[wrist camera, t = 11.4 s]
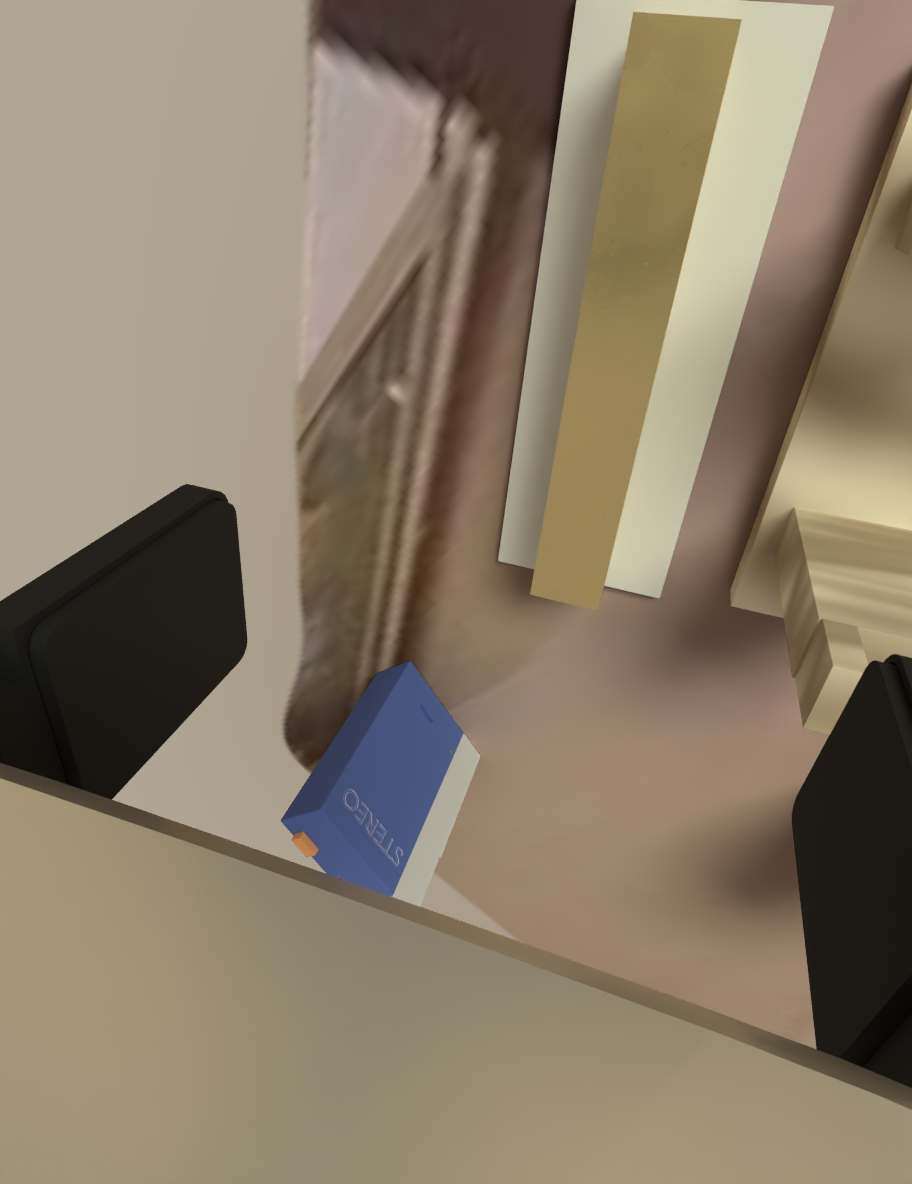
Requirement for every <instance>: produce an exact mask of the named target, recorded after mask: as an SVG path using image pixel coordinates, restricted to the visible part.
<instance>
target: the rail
mask: <svg viewBox="0 0 912 1184" xmlns="http://www.w3.org/2000/svg"><path fill="white" fill-rule="evenodd" d="M741 21H742V19H730V18H716V17H702V16H687V15H673V14H659V13H645V12H633V16H632V21H631V27H630V33H629V38H628V44H627V49H626V55H625V61H624V66H623V72H622V78H621V83H620V89H619V95H618V100H617V106H616V112H615V117H614V123H613V129H612V134H611V140H610V145H609V151H608V157H607V162H606V168H605V174H604V179H603V185H602V191H601V196H600V202H599V208H598V213H597V219H596V225H595V230H594V236H593V241H592V247H591V253H590V258H589V264H588V270H587V275H586V281H585V287H584V292H583V298H582V304H581V309H580V315H579V321H578V326H577V332H576V337H575V343H574V349H573V354H572V360H571V366H570V371H569V377H568V383H567V388H566V394H565V400H564V405H563V411H562V417H561V422H560V428H559V433H558V439H557V445H556V450H555V456H554V462H553V467H552V473H551V479H550V484H549V490H548V496H547V501H546V507H545V513H544V518H543V524H542V529H541V535H540V541H539V546H538V552H537V558H536V563H535V569H534V575H533V580H532V586H531V592H530V595H534V596H538V597H542V598H546V599H550V600H554V601H558V602H562V603H566V604H571V605H575V606H579V607H583V608H587V609H591V610H595V611H598V608H599V604H600V600H601V596H602V593H603V589H604V585H605V581H606V577H607V573H608V569H609V565H610V561H611V557H612V553H613V549H614V545H615V541H616V537H617V533H618V529H619V524H620V520H621V516H622V512H623V508H624V504H625V500H626V496H627V492H628V488H629V484H630V479H631V475H632V471H633V467H634V463H635V459H636V455H637V451H638V447H639V443H640V438H641V434H642V430H643V426H644V422H645V418H646V414H647V410H648V406H649V402H650V398H651V393H652V389H653V385H654V381H655V377H656V373H657V369H658V365H659V361H660V357H661V352H662V348H663V344H664V340H665V336H666V332H667V328H668V324H669V320H670V316H671V312H672V307H673V303H674V299H675V295H676V291H677V287H678V283H679V279H680V275H681V271H682V266H683V262H684V258H685V254H686V250H687V246H688V242H689V238H690V234H691V230H692V226H693V221H694V217H695V213H696V209H697V205H698V201H699V197H700V193H701V189H702V185H703V180H704V176H705V172H706V168H707V164H708V160H709V156H710V152H711V148H712V144H713V140H714V135H715V131H716V127H717V123H718V119H719V115H720V111H721V107H722V103H723V99H724V94H725V90H726V86H727V82H728V78H729V74H730V70H731V66H732V62H733V58H734V54H735V49H736V45H737V41H738V37H739V32H740V26H741Z"/></svg>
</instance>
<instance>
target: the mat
mask: <svg viewBox="0 0 912 1184" xmlns="http://www.w3.org/2000/svg"><path fill="white" fill-rule="evenodd" d="M833 9H834V6H822V5H806V4H790V3H773V2H757V1H741V0H576V8H575V15H574V22H573V29H572V36H571V43H570V50H569V58H568V65H567V72H566V79H565V86H564V93H563V100H562V108H561V115H560V122H559V129H558V136H557V143H556V150H555V158H554V165H553V172H552V179H551V186H550V193H549V200H548V208H547V215H546V222H545V229H544V236H543V243H542V250H541V258H540V265H539V272H538V279H537V286H536V293H535V300H534V308H533V315H532V322H531V329H530V336H529V343H528V350H527V358H526V365H525V372H524V379H523V386H522V393H521V400H520V408H519V415H518V422H517V429H516V436H515V443H514V450H513V458H512V465H511V472H510V479H509V486H508V493H507V500H506V508H505V515H504V522H503V529H502V536H501V543H500V550H499V558H498V561H500V562H505V563H509V564H513V565H518V566H522V567H526V568H530V569H535V563H536V558H537V552H538V546H539V541H540V535H541V529H542V524H543V518H544V513H545V507H546V501H547V496H548V490H549V484H550V479H551V473H552V467H553V462H554V456H555V450H556V445H557V439H558V433H559V428H560V422H561V417H562V411H563V405H564V400H565V394H566V388H567V383H568V377H569V371H570V366H571V360H572V354H573V349H574V343H575V337H576V332H577V326H578V321H579V315H580V309H581V304H582V298H583V292H584V287H585V281H586V275H587V270H588V264H589V258H590V253H591V247H592V241H593V236H594V230H595V225H596V219H597V213H598V208H599V202H600V196H601V191H602V185H603V179H604V174H605V168H606V162H607V157H608V151H609V145H610V140H611V134H612V129H613V123H614V117H615V112H616V106H617V100H618V95H619V89H620V83H621V78H622V72H623V66H624V61H625V55H626V49H627V44H628V38H629V33H630V27H631V21H632V16H633V12H645V13H659V14H673V15H687V16H702V17H716V18H730V19H742V21H741V26H740V32H739V37H738V41H737V45H736V49H735V54H734V58H733V62H732V66H731V70H730V74H729V78H728V82H727V86H726V90H725V94H724V99H723V103H722V107H721V111H720V115H719V119H718V123H717V127H716V131H715V135H714V140H713V144H712V148H711V152H710V156H709V160H708V164H707V168H706V172H705V176H704V180H703V185H702V189H701V193H700V197H699V201H698V205H697V209H696V213H695V217H694V221H693V226H692V230H691V234H690V238H689V242H688V246H687V250H686V254H685V258H684V262H683V266H682V271H681V275H680V279H679V283H678V287H677V291H676V295H675V299H674V303H673V307H672V312H671V316H670V320H669V324H668V328H667V332H666V336H665V340H664V344H663V348H662V352H661V357H660V361H659V365H658V369H657V373H656V377H655V381H654V385H653V389H652V393H651V398H650V402H649V406H648V410H647V414H646V418H645V422H644V426H643V430H642V434H641V438H640V443H639V447H638V451H637V455H636V459H635V463H634V467H633V471H632V475H631V479H630V484H629V488H628V492H627V496H626V500H625V504H624V508H623V512H622V516H621V520H620V524H619V529H618V533H617V537H616V541H615V545H614V549H613V553H612V557H611V561H610V565H609V569H608V573H607V577H606V581H605V585H604V586H607V587H612V588H616V589H620V590H625V591H629V592H633V593H637V594H642V595H646V596H650V597H655V598H659V599H660V596H661V592H662V589H663V585H664V582H665V579H666V575H667V572H668V569H669V565H670V562H671V558H672V555H673V552H674V548H675V545H676V541H677V538H678V535H679V531H680V528H681V524H682V521H683V518H684V514H685V511H686V508H687V504H688V501H689V497H690V494H691V491H692V487H693V484H694V480H695V477H696V474H697V470H698V467H699V463H700V460H701V457H702V453H703V450H704V446H705V443H706V440H707V436H708V433H709V430H710V426H711V423H712V419H713V416H714V413H715V409H716V406H717V402H718V399H719V396H720V392H721V389H722V385H723V382H724V379H725V375H726V372H727V368H728V365H729V362H730V358H731V355H732V352H733V348H734V345H735V341H736V338H737V335H738V331H739V328H740V324H741V321H742V318H743V314H744V311H745V307H746V304H747V301H748V297H749V294H750V291H751V287H752V284H753V280H754V277H755V274H756V270H757V267H758V263H759V260H760V257H761V253H762V250H763V246H764V243H765V240H766V236H767V233H768V229H769V226H770V223H771V219H772V216H773V213H774V209H775V206H776V202H777V199H778V196H779V192H780V189H781V185H782V182H783V179H784V175H785V172H786V168H787V165H788V162H789V158H790V155H791V152H792V148H793V145H794V141H795V138H796V135H797V131H798V128H799V124H800V121H801V118H802V114H803V111H804V107H805V104H806V101H807V97H808V94H809V90H810V87H811V84H812V80H813V77H814V74H815V70H816V67H817V63H818V60H819V57H820V53H821V50H822V46H823V43H824V40H825V36H826V33H827V29H828V26H829V23H830V19H831V16H832V12H833Z"/></svg>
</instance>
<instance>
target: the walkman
mask: <svg viewBox="0 0 912 1184" xmlns="http://www.w3.org/2000/svg"><path fill="white" fill-rule="evenodd" d="M479 759H480V755H479V754H478V752H477V751H476V750H475V748H474V747H473V745H472V744H471V743H470V741H469V740H468V738H467V737H466V736H465V734H464V733H463V732H462V731H461V729H460V728H459V727H458V725H457V724H456V722H455V721H454V720H453V718H452V717H451V716H450V714H449V713H448V711H447V710H446V709H445V707H444V706H443V705H442V703H441V702H440V701H439V699H438V698H437V696H436V695H435V694H434V692H433V691H432V690H431V688H430V687H429V685H428V684H427V683H426V681H425V680H424V679H423V677H422V676H421V674H420V673H419V672H418V670H417V669H416V668H415V666H414V665H413V663H412V662H411V661H408V662H405V663H403V664H400V665H398V666H395V667H393V668H390V669H387V670H385V671H382V672H380V673H377V674H376V675H375V677H374V678H373V680H372V681H371V683H370V684H369V686H368V688H367V689H366V691H365V692H364V694H363V695H362V697H361V698H360V700H359V701H358V703H357V704H356V706H355V707H354V709H353V710H352V712H351V714H350V715H349V717H348V718H347V720H346V721H345V723H344V724H343V726H342V727H341V729H340V730H339V732H338V733H337V735H336V737H335V738H334V740H333V741H332V743H331V744H330V746H329V747H328V749H327V750H326V752H325V753H324V755H323V756H322V758H321V759H320V761H319V763H318V764H317V766H316V767H315V769H314V770H313V772H312V773H311V775H310V776H309V778H308V779H307V781H306V782H305V784H304V786H303V787H302V789H301V790H300V792H299V793H298V795H297V796H296V798H295V799H294V801H293V802H292V804H291V805H290V807H289V808H288V810H287V812H286V813H285V815H284V816H283V818H282V819H281V822H282V823H283V824H284V825H285V826H286V827H287V829H288V830H289V831H290V832H291V833H292V834H293V835H294V837H293V839H292V841H293V842H294V843H295V845H296V846H297V847H298V848H299V849H300V850H301V852H302V853H303V854H304V855H305V856H306V857H309V856H312V857H313V858H314V860H315V861H316V862H317V863H318V864H319V865H320V867H321V868H322V869H323V870H324V871H325V872H326V873H327V874H328V875H331V876H334V877H337V878H339V879H342V880H345V881H348V882H351V883H354V884H357V885H359V886H362V887H365V888H368V889H371V890H374V891H377V892H379V893H382V894H385V895H388V896H391V897H394V898H397V899H399V900H402V901H405V902H408V903H411V904H414V905H417V906H419V907H420V906H421V903H422V901H423V898H424V896H425V893H426V891H427V888H428V885H429V883H430V880H431V878H432V875H433V873H434V870H435V868H436V865H437V863H438V860H439V858H441V856H442V853H443V851H444V848H445V846H446V843H447V841H448V838H449V835H450V833H451V830H452V828H453V825H454V823H455V820H456V818H457V815H458V812H459V810H460V807H461V805H462V802H463V800H464V797H465V795H466V792H467V789H468V787H469V784H470V782H471V779H472V777H473V774H474V772H475V769H476V766H477V764H478V761H479Z"/></svg>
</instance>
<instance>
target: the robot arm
mask: <svg viewBox="0 0 912 1184" xmlns="http://www.w3.org/2000/svg"><path fill="white" fill-rule="evenodd" d="M246 646H247V631H246V619H245V608H244V596H243V585H242V574H241V563H240V552H239V539H238V528H237V517H236V511H235V508H234V506H233V505H232V504H230V503H228V500H227V498H226V496H225V495H224V494H223V493H222V492H219V491H215V490H211V489H207V488H202V487H198V486H194V485H188V484H186V485H183V486H181V487H179V488H178V489H176V490H175V491H173V492H171V493H170V494H168V495H167V496H165V497H163V498H162V499H160V500H159V501H157V502H156V503H154V504H153V505H151V506H149V507H148V508H146V509H145V510H143V511H141V512H140V513H138V514H137V515H135V516H134V517H132V518H130V519H129V520H127V521H126V522H124V523H123V524H121V525H120V526H118V527H116V528H115V529H113V530H112V531H110V532H109V533H107V534H105V535H104V536H102V537H101V538H99V539H97V540H96V541H94V542H93V543H91V544H90V545H88V546H86V547H85V548H83V549H82V550H80V551H79V552H77V553H76V554H74V555H72V556H71V557H69V558H68V559H66V560H64V561H63V562H61V563H60V564H58V565H57V566H55V567H53V568H52V569H50V570H49V571H47V572H46V573H44V574H42V575H41V576H39V577H38V578H36V579H35V580H33V581H31V582H30V583H28V584H27V585H25V586H24V587H22V588H20V589H19V590H17V591H16V592H14V593H12V594H11V595H9V596H8V597H6V598H5V599H3V600H1V601H0V1184H912V658H910V657H906V656H902V655H898V654H892V655H890V656H889V657H888V658H887V659H885V661H884V662H880V661H876V660H874V661H871V662H870V663H869V664H868V666H867V667H866V669H865V670H864V672H863V674H862V676H861V678H860V680H859V682H858V683H857V685H856V687H855V689H854V691H853V693H852V695H851V696H850V698H849V700H848V702H847V704H846V706H845V708H844V709H843V711H842V713H841V715H840V717H839V719H838V721H837V722H836V724H835V726H834V728H833V730H832V732H831V734H830V735H829V737H828V739H827V741H826V743H825V745H824V747H823V748H822V750H821V752H820V754H819V756H818V758H817V760H816V761H815V763H814V765H813V767H812V769H811V771H810V773H809V774H808V776H807V778H806V780H805V782H804V784H803V786H802V787H801V789H800V791H799V793H798V795H797V797H796V799H795V803H794V806H793V812H792V828H793V837H794V846H795V856H796V865H797V874H798V883H799V892H800V901H801V910H802V919H803V928H804V937H805V947H806V956H807V965H808V974H809V983H810V992H811V1001H812V1010H813V1019H814V1028H815V1038H816V1047H817V1050H816V1049H814V1048H811V1047H808V1046H806V1045H803V1044H800V1043H798V1042H795V1041H792V1040H789V1039H787V1038H784V1037H781V1036H779V1035H776V1034H773V1033H771V1032H768V1031H765V1030H763V1029H760V1028H757V1027H755V1026H752V1025H749V1024H747V1023H744V1022H741V1021H738V1020H736V1019H733V1018H730V1017H728V1016H725V1015H722V1014H720V1013H717V1012H714V1011H712V1010H709V1009H706V1008H704V1007H701V1006H698V1005H696V1004H693V1003H690V1002H687V1001H685V1000H682V999H679V998H676V997H673V996H671V995H668V994H665V993H662V992H659V991H657V990H654V989H651V988H648V987H645V986H642V985H640V984H637V983H634V982H631V981H628V980H626V979H623V978H620V977H617V976H614V975H611V974H609V973H606V972H603V971H600V970H597V969H595V968H592V967H589V966H586V965H583V964H581V963H578V962H575V961H572V960H569V959H566V958H564V957H561V956H558V955H555V954H552V953H550V952H547V951H544V950H541V949H538V948H535V947H533V946H530V945H527V944H524V943H521V942H519V941H516V940H513V939H510V938H507V937H504V936H502V935H499V934H496V933H493V932H490V931H488V930H485V929H482V928H479V927H476V926H474V925H471V924H468V923H465V922H462V921H459V920H456V919H454V918H451V917H448V916H445V915H442V914H439V913H436V912H434V911H431V910H428V909H425V908H422V907H419V906H417V905H414V904H411V903H408V902H405V901H402V900H399V899H397V898H394V897H391V896H388V895H385V894H382V893H379V892H377V891H374V890H371V889H368V888H365V887H362V886H359V885H357V884H354V883H351V882H348V881H345V880H342V879H339V878H337V877H334V876H331V875H328V874H325V873H322V872H319V871H316V870H314V869H311V868H308V867H305V866H302V865H299V864H296V863H294V862H290V861H288V860H285V859H282V858H279V857H276V856H273V855H270V854H267V853H265V852H262V851H259V850H256V849H253V848H250V847H247V846H245V845H242V844H239V843H236V842H233V841H230V840H227V839H224V838H221V837H218V836H216V835H212V834H210V833H207V832H204V831H201V830H198V829H195V828H192V827H189V826H187V825H184V824H180V823H178V822H175V821H172V820H169V819H166V818H163V817H160V816H157V815H154V814H152V813H148V812H146V811H143V810H140V809H137V808H134V807H131V806H128V805H125V804H122V803H119V802H117V801H114V800H112V799H113V798H114V797H115V796H116V794H117V793H118V792H119V791H120V790H121V789H122V788H123V787H124V786H125V785H126V784H127V783H128V781H129V780H130V779H131V778H132V777H133V776H134V775H135V774H136V773H137V772H138V771H139V770H140V768H141V767H142V766H143V765H144V764H145V763H146V762H147V761H148V760H149V759H150V758H151V757H152V756H153V754H154V753H155V752H156V751H157V750H158V749H159V748H160V747H161V746H162V744H164V743H165V741H166V740H167V739H168V738H169V737H170V736H171V735H172V734H173V733H174V732H175V731H176V730H177V729H178V727H179V726H180V725H181V724H182V723H183V722H184V721H185V720H186V719H187V718H188V717H189V716H190V715H191V713H192V712H193V711H194V710H195V709H196V708H197V707H198V706H199V705H200V704H201V703H202V701H203V700H204V699H205V698H206V697H207V696H208V695H209V694H210V693H211V692H212V691H213V690H214V688H215V687H216V686H217V685H218V684H219V683H220V682H221V681H222V680H223V679H224V678H225V677H226V676H227V675H228V673H229V672H230V671H231V670H232V669H233V668H234V667H235V666H236V665H237V664H238V663H239V661H240V660H241V659H242V657H243V655H244V653H245V650H246Z"/></svg>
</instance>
